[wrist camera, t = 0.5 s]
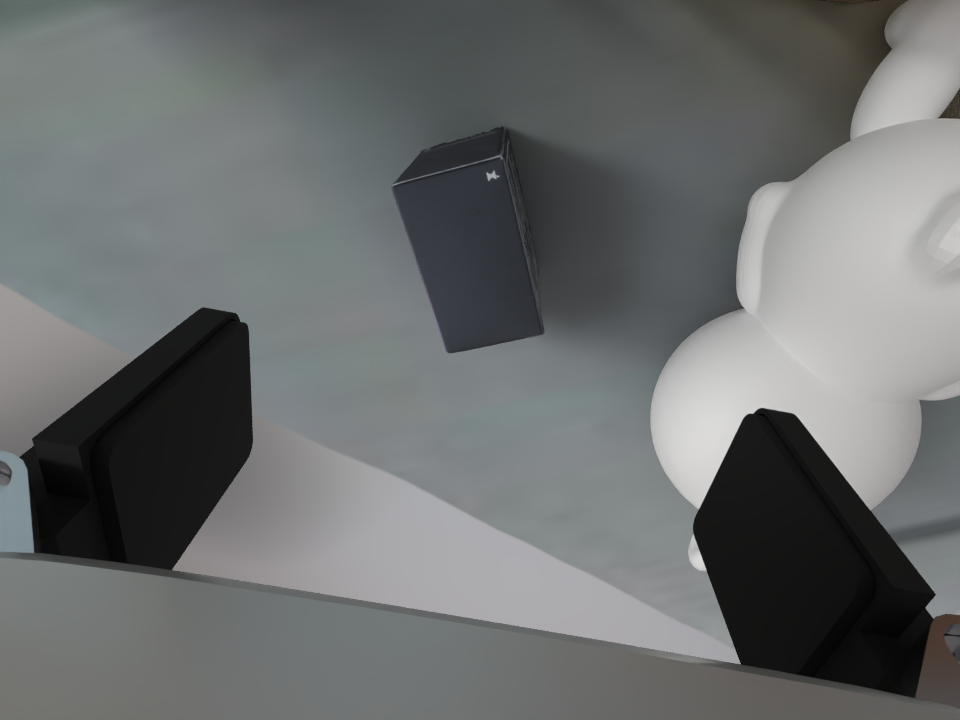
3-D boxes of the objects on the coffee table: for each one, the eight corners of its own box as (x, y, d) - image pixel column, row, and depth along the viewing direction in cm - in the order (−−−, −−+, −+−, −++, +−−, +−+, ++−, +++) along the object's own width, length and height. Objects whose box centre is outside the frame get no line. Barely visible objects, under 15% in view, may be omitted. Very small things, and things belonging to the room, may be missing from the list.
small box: (413, 150, 37) (382, 182, 28) (507, 124, 36) (507, 148, 27) (456, 292, 42) (442, 358, 33) (540, 272, 41) (550, 335, 32)
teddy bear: (1144, 126, 34) (794, 537, 47) (854, 21, 38) (606, 427, 51) (1583, 29, 17) (841, 717, 30) (971, -143, 21) (554, 529, 34)
